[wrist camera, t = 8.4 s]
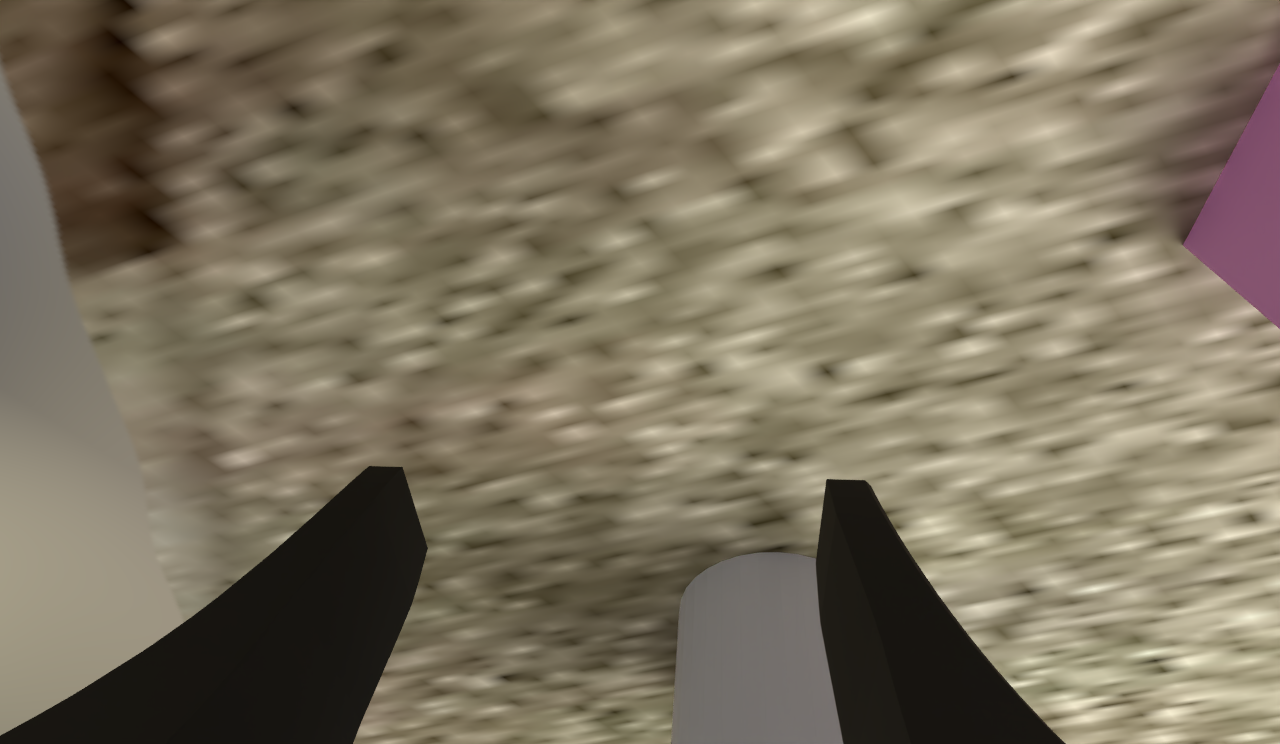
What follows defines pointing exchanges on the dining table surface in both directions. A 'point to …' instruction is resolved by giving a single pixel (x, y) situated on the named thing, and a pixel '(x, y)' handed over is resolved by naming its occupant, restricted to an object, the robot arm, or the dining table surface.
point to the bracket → (1247, 212)
